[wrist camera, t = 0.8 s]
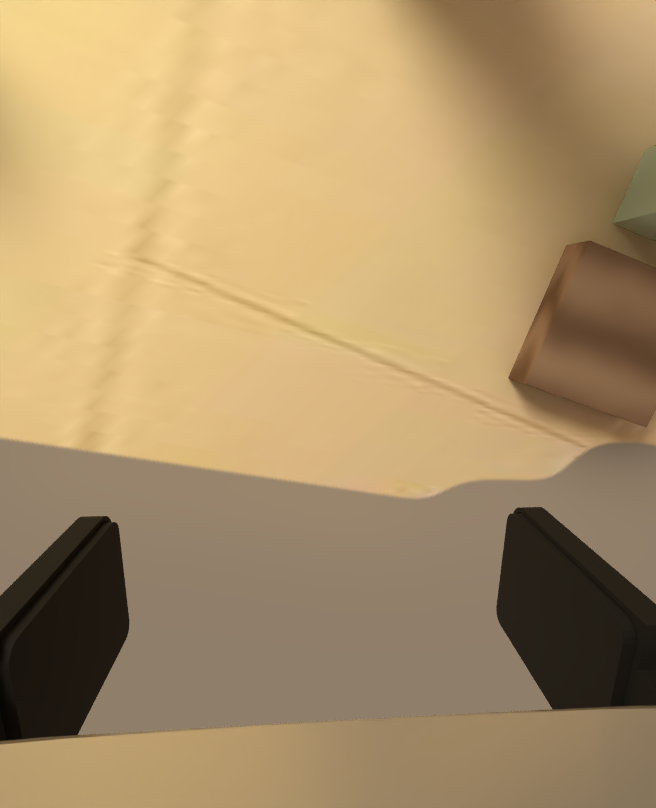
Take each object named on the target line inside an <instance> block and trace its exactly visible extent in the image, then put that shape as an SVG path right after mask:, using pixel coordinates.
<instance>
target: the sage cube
mask: <svg viewBox="0 0 656 808" xmlns="http://www.w3.org/2000/svg"><path fill="white" fill-rule="evenodd" d="M613 223H614V224H616V225H618V226H621V227H623V228H625V229H628V230H630V231H632V232H635V233H637V234H639V235H642V236H644V237H646V238H649V239H651V240H653V241H656V145H655V146H653V147H650V148H648V149H646V151H645V153H644V155H643V158H642V160H641V162H640V164H639V166H638V168H637V171H636V173H635V175H634V177H633V179H632V182H631V184H630V186H629V188H628V190H627V193H626V195H625V197H624V199H623V201H622V204H621V206H620V208H619V210H618V212H617V215H616V217H615V219H614V221H613Z"/></svg>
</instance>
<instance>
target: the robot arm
mask: <svg viewBox="0 0 656 808" xmlns="http://www.w3.org/2000/svg"><path fill="white" fill-rule="evenodd" d="M123 571H124V570H123V562H122V553H121V544H120V535H119V528H118V525H117V523H115V522H111V520H110V519H109V517H107V516H94V517H80V518H78V519H77V520H76V521H75V522H74V523H73V524H72V525H71V526H70V527H69V528H68V529H67V530H66V531H65V532H64V533H63V534H62V535H61V536H60V537H59V538H58V539H57V540H56V541H55V542H54V543H53V544H52V545H51V546H50V547H49V548H48V549H47V550H46V551H45V552H44V553H43V554H42V555H41V556H40V557H39V558H38V559H37V560H36V561H35V562H34V563H33V564H32V565H31V566H30V567H29V568H28V569H27V570H26V571H25V572H24V573H23V574H22V575H21V576H20V577H19V578H18V579H17V580H16V581H15V582H14V583H13V584H12V585H11V586H10V587H9V588H8V589H7V590H6V591H5V592H4V593H3V594H2V595H1V596H0V808H656V604H655V603H654V602H653V601H651V600H650V599H649V598H648V597H647V596H646V595H644V594H643V593H642V592H641V591H640V590H639V589H637V588H636V587H635V586H634V585H632V584H631V583H630V582H629V581H628V580H627V579H626V578H625V577H623V576H622V575H621V574H620V573H619V572H617V571H616V570H615V569H614V568H613V567H612V566H610V565H609V564H608V563H607V562H606V561H605V560H603V559H602V558H601V557H600V556H599V555H597V554H596V553H595V552H594V551H593V550H592V549H591V548H589V547H588V546H587V545H586V544H585V543H583V542H582V541H581V540H580V539H579V538H577V536H575V535H574V534H573V533H572V532H571V531H570V530H568V529H567V528H566V527H565V526H564V525H563V524H561V523H560V522H559V521H558V520H557V519H555V518H554V517H553V516H552V515H551V514H550V513H548V512H547V511H546V510H545V509H543V508H542V507H532V508H531V507H529V508H528V507H527V508H517V509H516V510H515V511H514V514H510V515H509V516H508V519H507V525H506V533H505V542H504V551H503V558H502V566H501V575H500V583H499V591H498V600H497V617H498V620H499V623H500V625H501V626H502V628H503V630H504V631H505V633H506V634H507V636H508V637H509V639H510V641H511V642H512V644H513V646H514V647H515V649H516V651H517V652H518V654H519V655H520V657H521V659H522V660H523V662H524V663H525V665H526V667H527V668H528V670H529V672H530V673H531V675H532V677H533V678H534V680H535V681H536V683H537V685H538V686H539V688H540V689H541V691H542V693H543V694H544V696H545V698H546V699H547V701H548V702H549V704H550V706H551V707H552V709H553V710H531V711H513V712H512V711H510V712H491V713H490V712H489V713H471V714H450V715H431V716H413V717H412V716H411V717H392V718H373V719H355V720H335V721H317V722H299V723H282V724H281V723H280V724H262V725H244V726H227V727H209V728H190V729H174V730H157V731H140V732H124V733H107V734H89V735H78V733H79V731H80V729H81V727H82V725H83V723H84V721H85V719H86V717H87V715H88V713H89V711H90V709H91V707H92V705H93V703H94V701H95V699H96V697H97V695H98V693H99V691H100V689H101V687H102V685H103V683H104V681H105V679H106V678H107V676H108V674H109V671H110V670H111V668H112V666H113V664H114V662H115V660H116V658H117V656H118V654H119V652H120V650H121V648H122V646H123V644H124V642H125V640H126V637H127V634H128V630H129V614H128V607H127V597H126V588H125V579H124V572H123Z"/></svg>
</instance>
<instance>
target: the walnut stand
mask: <svg viewBox="0 0 656 808" xmlns="http://www.w3.org/2000/svg"><path fill="white" fill-rule="evenodd" d="M509 378H510V379H512V380H515V381H518V382H521V383H524V384H526V385H529V386H532V387H535V388H537V389H540V390H543V391H546V392H549V393H552V394H554V395H557V396H560V397H563V398H566V399H568V400H571V401H574V402H577V403H580V404H582V405H585V406H588V407H591V408H594V409H596V410H599V411H602V412H605V413H608V414H610V415H613V416H616V417H619V418H622V419H624V420H627V421H630V422H633V423H636V424H638V425H641V426H644V427H647V425H648V423H649V421H650V419H651V417H652V415H653V413H654V412H655V410H656V268H654V267H652V266H649V265H647V264H644V263H642V262H640V261H637V260H635V259H632V258H630V257H628V256H625V255H623V254H620V253H618V252H616V251H613V250H611V249H609V248H606V247H604V246H601V245H599V244H597V243H594V242H592V241H586V242H581V243H577V244H572V245H567V246H566V248H565V251H564V253H563V255H562V257H561V260H560V262H559V264H558V266H557V269H556V271H555V273H554V276H553V278H552V280H551V282H550V285H549V287H548V289H547V291H546V294H545V296H544V298H543V301H542V303H541V305H540V307H539V310H538V312H537V314H536V316H535V319H534V321H533V323H532V326H531V328H530V330H529V332H528V335H527V337H526V339H525V341H524V344H523V346H522V348H521V351H520V353H519V355H518V357H517V360H516V362H515V364H514V367H513V369H512V371H511V373H510V376H509Z"/></svg>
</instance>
